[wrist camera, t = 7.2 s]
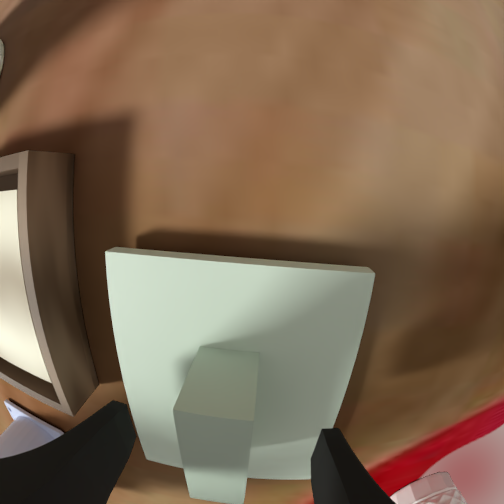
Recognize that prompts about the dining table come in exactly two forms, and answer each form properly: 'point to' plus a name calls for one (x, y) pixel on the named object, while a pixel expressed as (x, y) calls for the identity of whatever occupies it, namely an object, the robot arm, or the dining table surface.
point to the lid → (234, 360)
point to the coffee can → (1, 55)
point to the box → (41, 283)
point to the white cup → (430, 491)
